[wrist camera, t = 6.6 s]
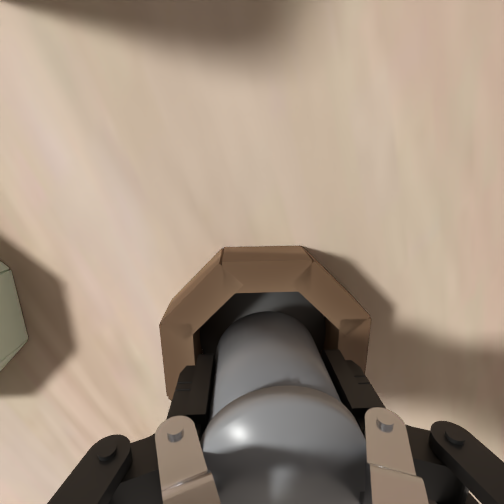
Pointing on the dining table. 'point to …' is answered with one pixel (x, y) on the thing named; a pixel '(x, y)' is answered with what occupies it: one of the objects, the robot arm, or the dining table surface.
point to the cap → (279, 419)
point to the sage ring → (10, 318)
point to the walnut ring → (260, 305)
